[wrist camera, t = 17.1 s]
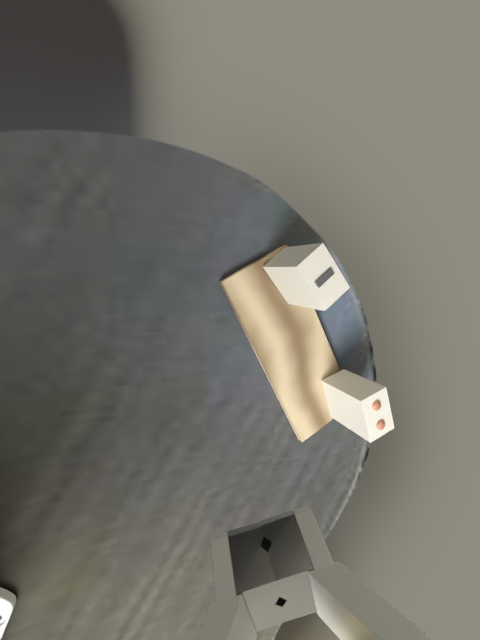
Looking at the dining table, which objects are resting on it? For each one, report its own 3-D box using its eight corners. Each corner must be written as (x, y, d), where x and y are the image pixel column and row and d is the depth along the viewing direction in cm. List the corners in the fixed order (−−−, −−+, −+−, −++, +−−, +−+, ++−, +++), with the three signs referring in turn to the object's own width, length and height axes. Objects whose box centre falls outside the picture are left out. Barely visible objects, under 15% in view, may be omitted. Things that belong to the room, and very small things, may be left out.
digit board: (298, 439, 49) (301, 442, 48) (219, 281, 41) (221, 281, 40) (349, 400, 51) (353, 403, 51) (283, 244, 44) (287, 244, 43)
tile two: (330, 416, 49) (371, 443, 41) (321, 380, 47) (362, 401, 40) (353, 403, 50) (397, 427, 43) (345, 368, 49) (388, 386, 41)
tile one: (288, 303, 44) (326, 311, 36) (262, 267, 42) (297, 266, 34) (310, 283, 44) (352, 286, 37) (286, 246, 42) (325, 241, 35)
